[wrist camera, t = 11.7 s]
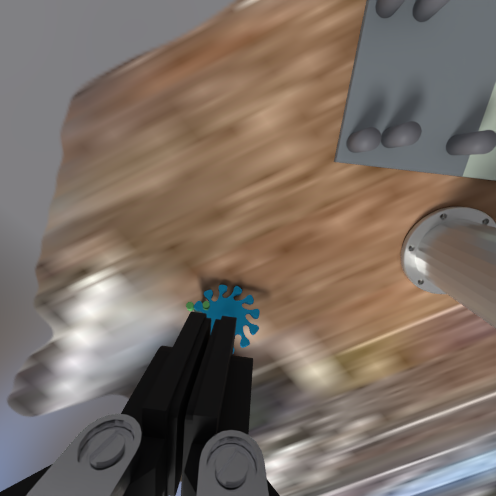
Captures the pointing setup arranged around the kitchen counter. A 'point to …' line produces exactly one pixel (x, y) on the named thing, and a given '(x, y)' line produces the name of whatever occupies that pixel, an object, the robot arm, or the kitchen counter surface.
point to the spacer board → (424, 89)
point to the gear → (228, 310)
